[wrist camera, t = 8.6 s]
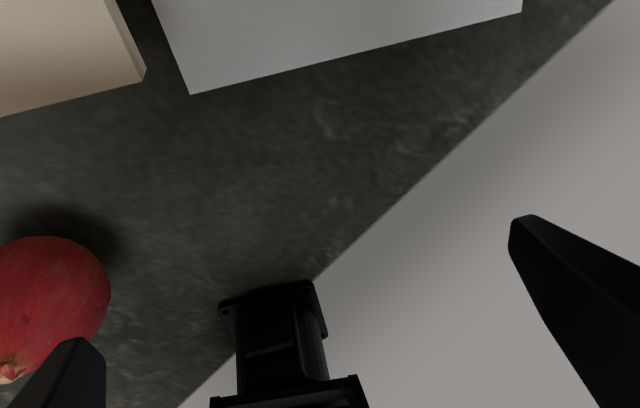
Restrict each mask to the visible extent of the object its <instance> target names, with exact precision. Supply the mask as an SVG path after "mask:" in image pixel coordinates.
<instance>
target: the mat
mask: <svg viewBox="0 0 640 408" xmlns="http://www.w3.org/2000/svg"><path fill="white" fill-rule="evenodd" d="M151 1H152V3H153V6H154V8H155V11H156V13H157V16H158V18H159V20H160V23H161V25H162V28H163V30H164V33H165V35H166V37H167V40H168V42H169V45H170V47H171V50H172V52H173V54H174V57H175V59H176V62H177V64H178V67H179V69H180V71H181V74H182V76H183V79H184V81H185V84H186V86H187V89H188V91H189V93H190V95H192V94H196V93H200V92H204V91H208V90H212V89H216V88H220V87H224V86H228V85H232V84H236V83H240V82H244V81H248V80H252V79H256V78H260V77H264V76H268V75H272V74H276V73H280V72H284V71H288V70H292V69H296V68H300V67H304V66H308V65H312V64H316V63H320V62H324V61H328V60H332V59H336V58H340V57H344V56H348V55H352V54H356V53H360V52H364V51H368V50H372V49H376V48H380V47H384V46H388V45H392V44H395V43H399V42H403V41H407V40H411V39H415V38H419V37H423V36H427V35H431V34H435V33H439V32H443V31H447V30H451V29H455V28H459V27H463V26H467V25H471V24H475V23H479V22H483V21H487V20H491V19H495V18H499V17H503V16H507V15H511V14H515V13H519V12H521V9H522V1H523V0H151Z"/></svg>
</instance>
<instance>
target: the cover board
mask: <svg viewBox="0 0 640 408" xmlns="http://www.w3.org/2000/svg"><path fill="white" fill-rule="evenodd" d="M146 69H147V68H146V66H145V64H144V61H143V59H142V57H141V55H140V53H139V51H138V48H137V46H136V44H135V42H134V40H133V38H132V36H131V33H130V31H129V29H128V27H127V25H126V23H125V21H124V18H123V16H122V14H121V12H120V10H119V8H118V6H117V3H116V1H115V0H0V117H3V116H7V115H11V114H15V113H19V112H23V111H27V110H31V109H35V108H39V107H43V106H47V105H51V104H55V103H59V102H63V101H67V100H71V99H75V98H79V97H83V96H86V95H90V94H94V93H98V92H102V91H106V90H110V89H114V88H118V87H122V86H126V85H130V84H134V83H138V82H142V81H143V78H144V75H145V72H146Z"/></svg>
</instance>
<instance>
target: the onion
mask: <svg viewBox="0 0 640 408" xmlns="http://www.w3.org/2000/svg"><path fill="white" fill-rule="evenodd" d="M110 299H111V284H110V282H109V279H108V277H107V274H106V272H105V269H104V268H103V266H102V264H101V263H100V261H99V260H98V259H97V258H96V257H95V256H94V255H93V254H92V253H91V252H90V251H89V250H88V249H87V248H85V247H83V246H82V245H80V244H78V243H76V242H74V241H72V240H70V239H65V238H60V237H56V236H31V237H24V238H21V239H18V240H15V241H12V242H8V243H6V244H4V245H3V246H1V247H0V384H7V383H12V382H13V381H14V380H16V379H17V378H19V377H22V376H25V375H27V374H30V373H32V372H35V371H36V370H37V369H38V368H39V367H40V365H41V364H42V363H43V362H44V360H45V359H46V358H47V357H48V355H49V354H50V353H51V352H52V350H53V349H54V348H55V347H56V346H57V345H58V344H59V343H60V342H62V341H64V340H68V339H71V338H75V337H83V338H85V339H86V340H87V341H89V340H90V339H91V338H93V336H94V335H95V334H96V332H97V331H98V330H99V328H100V327H101V324H102V321H103V319H104V316H105V314H106V311H107V308H108V305H109V302H110Z"/></svg>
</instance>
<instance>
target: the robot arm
mask: <svg viewBox="0 0 640 408" xmlns="http://www.w3.org/2000/svg"><path fill="white" fill-rule="evenodd" d="M508 251H509V254H510V257H511V259H512V261H513V263H514V265H515V267H516V269H517V271H518V273H519V275H520V277H521V279H522V281H523V283H524V285H525V287H526V289H527V291H528V292H529V294H530V297H531V299H532V300H533V302H534V305H535V306H536V308H537V310H538V312H539V314H540V316H541V318H542V319H543V321H544V323H545V325H546V326H547V328H548V329H549V331H550V332H551V334H552V336H553V337H554V338H555V340H556V342H557V343H558V345H559V346H560V348H561V349H562V351H563V352H564V354H565V355H566V357H567V358H568V360H569V361H570V363H571V365H572V366H573V367H574V369H575V371H576V372H577V374H578V375H579V376H580V378H581V379H582V381H583V383H584V384H585V386H586V387H587V389H588V390H589V392H590V393H591V395H592V396H593V398H594V399H595V401H596V403H597V404H598V406H599V407H600V408H640V266H638V265H636V264H634V263H632V262H630V261H628V260H626V259H624V258H622V257H620V256H618V255H616V254H614V253H612V252H610V251H608V250H606V249H604V248H602V247H600V246H597V245H595V244H593V243H591V242H589V241H587V240H585V239H583V238H581V237H579V236H577V235H575V234H573V233H571V232H569V231H567V230H565V229H563V228H561V227H559V226H557V225H555V224H553V223H551V222H549V221H547V220H545V219H543V218H541V217H539V216H536V215H532V214H530V215H525V216H522V217H518V218H515V219H513V221H512V222H511V226H510V234H509V241H508ZM218 315H219V316H220V318H221V320H222V321H223V323H224V325H225V327H226V328H227V330H228V332H229V334H230V335H231V337H232V339H233V341H234V342H235V344H236V370H237V395H233V396H227V397H221V398H220V396H217V397H211V398H210V406H209V408H369V405H368V402H367V400H366V397H365V395H364V392H363V389H362V386H361V384H360V381H359V378H358V376H357V374H354V375H348V377H345V378H339V379H332V380H330V377H329V372H328V368H327V363H326V358H325V353H324V349H323V344H322V340H323V339H325V338H327V337H328V331H327V327H326V324H325V321H324V317H323V314H322V311H321V307H320V304H319V301H318V297H317V294H316V291H315V287H314V284H313V282H311V281H304V282H300V283H296V284H292V285H288V286H285V287H281V288H277V289H273V290H269V291H266V292H262V293H258V294H254V295H250V296H246V297H243V298H239V299H235V300H231V301H227V302H224V303H221V304H220V305H219V306H218ZM7 408H106V362H105V359H104V357H103V356H102V355H101V354H100V353H99V352H98V351H97V350H96V349H95V348H94V347H93V346H92V345H91V344H90V343H89V342H88V341H87V340H86V339H85V338H83V337H75V338H71V339H68V340H64V341H62V342H60V343H59V344H58V345H57V346H56V347H55V348H54V349H53V350H52V352H51V353H50V354H49V355H48V357H47V358H46V359H45V360H44V362H43V363H42V364H41V365H40V367H39V368H38V369H37V370H36V372H35V373H34V374H33V375H32V377H31V378H30V379H29V380H28V381H27V383H26V384H25V385H24V386H23V388H22V389H21V390H20V391H19V393H18V394H17V395H16V396H15V398H14V399H13V400H12V401H11V403H10V404H9V405H8V406H7Z"/></svg>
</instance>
